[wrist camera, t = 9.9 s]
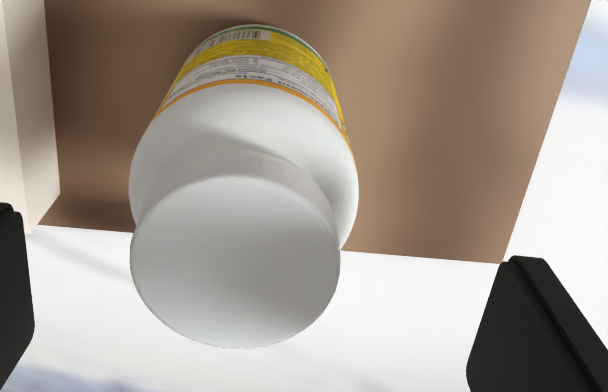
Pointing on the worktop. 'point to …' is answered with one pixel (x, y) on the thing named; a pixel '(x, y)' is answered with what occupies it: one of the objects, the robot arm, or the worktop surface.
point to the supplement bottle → (243, 192)
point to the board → (352, 98)
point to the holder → (26, 113)
